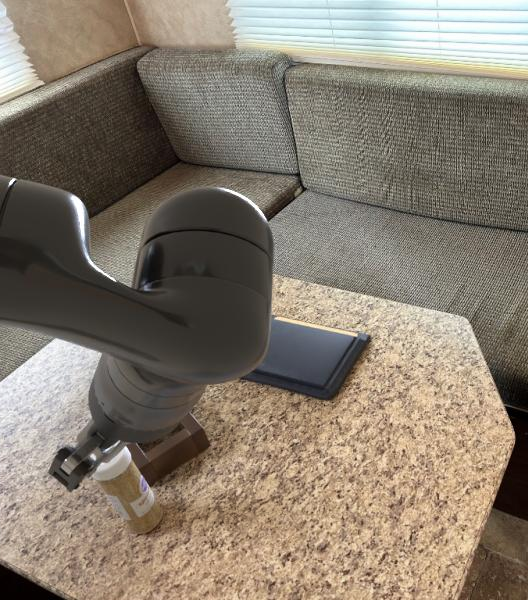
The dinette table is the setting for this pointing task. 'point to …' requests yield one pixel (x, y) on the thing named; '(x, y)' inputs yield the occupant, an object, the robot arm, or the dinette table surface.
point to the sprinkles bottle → (129, 492)
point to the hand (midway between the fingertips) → (118, 433)
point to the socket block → (170, 451)
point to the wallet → (308, 357)
